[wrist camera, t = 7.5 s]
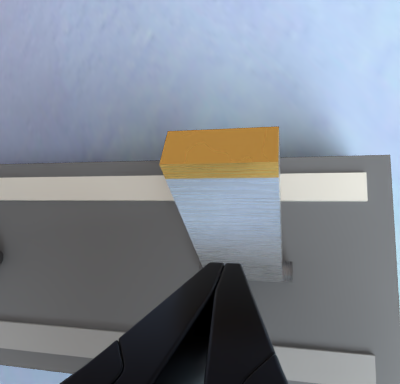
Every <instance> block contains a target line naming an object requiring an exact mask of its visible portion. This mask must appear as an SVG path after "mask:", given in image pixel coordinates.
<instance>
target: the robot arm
mask: <svg viewBox="0 0 400 384" xmlns="http://www.w3.org/2000/svg"><path fill="white" fill-rule="evenodd" d="M118 340H119V341H118ZM118 340H115V341H114V342H113V343H112V344H111V345H109V346H108V347H107V348H106V349H105V350H103V351H102V352H101V353H100V354H98V355H97V356H96V357H95V358H93V359H92V360H91V361H90V362H88V363H87V364H86V365H85V366H83V367H82V368H81V369H79V370H78V371H76V372H75V373H74V374H72V375H71V376H70V377H68V378H67V379H65V380H64V381H63V382H61V383H60V384H289V383H288V381H287V379H286V376H285V374H284V372H283V369H282V367H281V364H280V362H279V359H278V357H277V355H276V353H275V350H274V347H273V345H272V342H271V340H270V337H269V334H268V332H267V329H266V327H265V324H264V322H263V319H262V316H261V314H260V311H259V309H258V306H257V303H256V301H255V298H254V296H253V293H252V291H251V288H250V285H249V283H248V280H247V278H246V275H245V272H244V270H243V267H242V265H241V264H240V263H226V264H224V263H222V262H210V263H208V264H207V265H205V266H204V267H203V268H202V269H201V270H199V271H198V272H197V273H196V274H195V275H193V276H192V277H191V278H190V279H189V280H188V281H186V282H185V283H184V284H183V285H182V286H180V287H179V288H178V289H177V290H176V291H174V292H173V293H172V294H171V295H170V296H168V297H167V298H166V299H165V300H164V301H163V302H161V303H160V304H159V305H158V306H157V307H155V308H154V309H153V310H152V311H151V312H149V313H148V314H147V315H146V316H145V317H143V318H142V319H141V320H140V321H139V322H138V323H136V324H135V325H134V326H133V327H132V328H130V329H129V330H128V331H127V332H126V333H124V334H123V335H122V336H121V337H120V338H119V339H118Z"/></svg>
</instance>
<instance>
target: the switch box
mask: <svg viewBox="0 0 400 384" xmlns="http://www.w3.org/2000/svg"><path fill="white" fill-rule="evenodd" d="M159 163H160V160H158V161H117V162H75V163H34V164H0V251H2V253H3V261H2V263H1V264H0V365H6V366H14V367H22V368H30V369H38V370H47V371H55V372H63V373H71V374H74V373H75V372H76V371H78V370H79V369H81V368H82V367H83V366H85V365H86V364H87V363H88V362H90V361H91V360H92V359H93V358H95V357H96V356H97V355H98V354H100V353H101V352H102V351H103V350H105V349H106V348H107V347H108V346H109V345H111V344H112V343H113V342H114V341H115V340H118V339H119V338H120V337H121V336H122V335H123V334H124V333H126V332H127V331H128V330H129V329H130V328H132V327H133V326H134V325H135V324H136V323H138V322H139V321H140V320H141V319H142V318H143V317H145V316H146V315H147V314H148V313H149V312H151V311H152V310H153V309H154V308H155V307H157V306H158V305H159V304H160V303H161V302H163V301H164V300H165V299H166V298H167V297H168V296H170V295H171V294H172V293H173V292H174V291H176V290H177V289H178V288H179V287H180V286H182V285H183V284H184V283H185V282H186V281H188V280H189V279H190V278H191V277H192V276H193V275H195V274H196V273H197V272H198V271H199V263H200V259H199V257H198V255H197V252H196V250H195V248H194V245H193V243H192V241H191V238H190V236H189V234H188V231H187V229H186V226H185V224H184V222H183V219H182V217H181V215H180V212H179V210H178V208H177V205H176V203H175V201H174V198H173V196H172V193H171V191H170V189H169V186H168V184H167V182H166V179H165V177H164V175H163V172H162V170H161V168H160V165H159ZM280 186H281V221H282V261H291V262H293V282H288V281H282V282H270V281H251V280H248V283H249V285H250V288H251V291H252V293H253V296H254V298H255V301H256V303H257V306H258V309H259V311H260V314H261V316H262V319H263V322H264V324H265V327H266V329H267V332H268V334H269V337H270V340H271V342H272V345H273V347H274V350H275V353H276V355H277V357H278V359H279V362H280V364H281V367H282V369H283V372H284V374H285V376H286V379H287V381H288V383H289V384H400V311H399V294H398V278H397V261H396V244H395V227H394V211H393V194H392V177H391V161H390V155H365V156H323V157H282V158H280ZM118 341H119V340H118Z"/></svg>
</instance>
